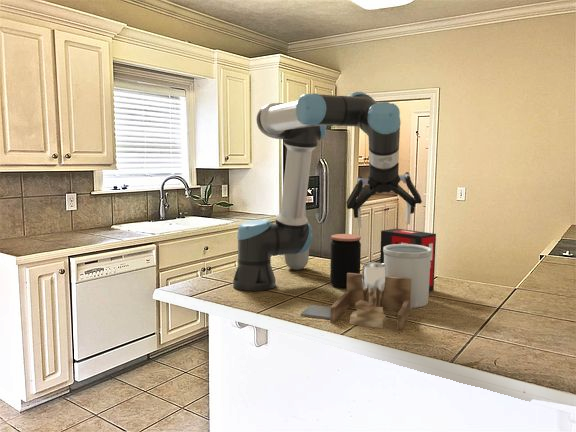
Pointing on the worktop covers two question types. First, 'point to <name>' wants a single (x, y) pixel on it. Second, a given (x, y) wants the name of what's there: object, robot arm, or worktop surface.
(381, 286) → the beer glass
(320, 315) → the coaster
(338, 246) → the coffee jar
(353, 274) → the open wooden frame
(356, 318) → the offcut stack
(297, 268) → the glass bottle
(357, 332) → the worktop surface
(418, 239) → the cleaning product box
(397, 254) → the utensil holder
